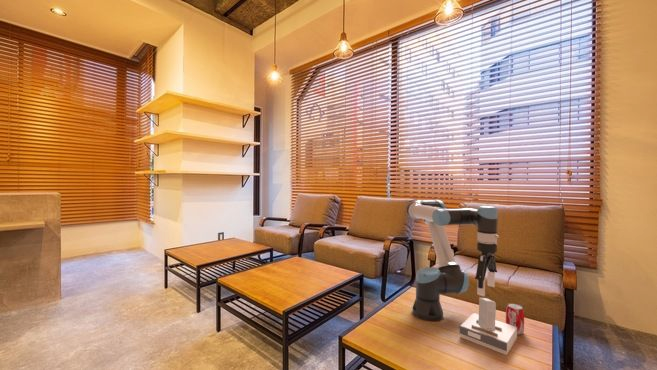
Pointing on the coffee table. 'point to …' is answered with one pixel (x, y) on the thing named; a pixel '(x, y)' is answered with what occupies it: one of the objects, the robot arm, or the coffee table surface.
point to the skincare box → (487, 314)
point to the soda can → (515, 317)
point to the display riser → (489, 334)
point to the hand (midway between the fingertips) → (486, 290)
